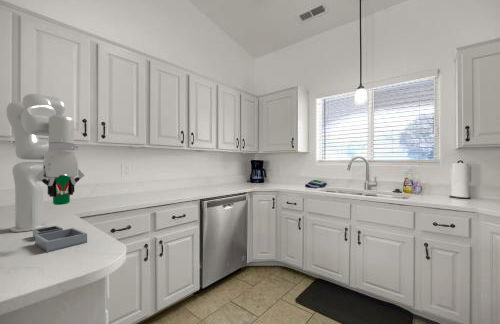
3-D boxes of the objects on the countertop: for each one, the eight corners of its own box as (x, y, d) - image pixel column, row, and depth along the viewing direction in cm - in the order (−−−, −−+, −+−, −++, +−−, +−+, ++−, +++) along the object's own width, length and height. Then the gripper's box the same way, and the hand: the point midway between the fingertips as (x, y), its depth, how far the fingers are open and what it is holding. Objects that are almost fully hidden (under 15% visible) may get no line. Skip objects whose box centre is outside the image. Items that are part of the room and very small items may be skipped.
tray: (35, 244, 87) (35, 235, 87) (73, 236, 97) (73, 227, 97) (47, 252, 79) (47, 242, 79) (87, 242, 89) (87, 233, 89)
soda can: (68, 202, 91) (67, 172, 92) (71, 203, 88) (71, 172, 88) (51, 204, 87) (51, 173, 88) (54, 205, 84) (54, 172, 84)
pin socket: (32, 237, 96) (32, 229, 96) (56, 232, 102) (56, 225, 102) (38, 240, 91) (38, 233, 91) (62, 235, 98) (62, 228, 98)
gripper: (83, 149, 97) (83, 192, 97) (28, 147, 83) (28, 197, 83) (90, 149, 93) (90, 193, 93) (34, 146, 79) (34, 199, 79)
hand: (61, 195), depth 88 cm, fingers closed on soda can, 5 cm apart
